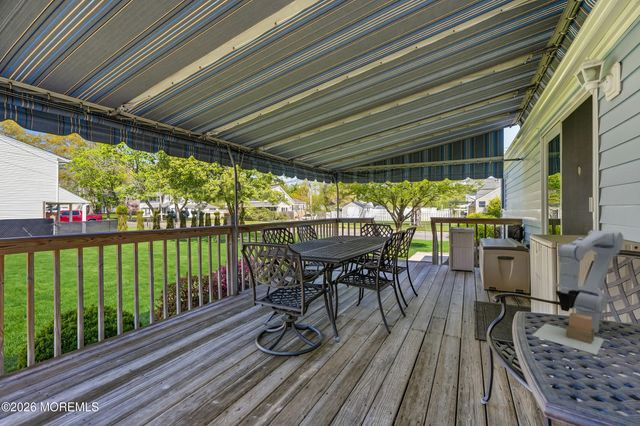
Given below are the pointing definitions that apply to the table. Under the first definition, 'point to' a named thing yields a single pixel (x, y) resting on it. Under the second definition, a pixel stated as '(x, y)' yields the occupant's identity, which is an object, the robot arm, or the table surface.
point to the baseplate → (567, 339)
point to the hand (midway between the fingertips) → (567, 309)
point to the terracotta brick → (580, 321)
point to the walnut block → (580, 334)
